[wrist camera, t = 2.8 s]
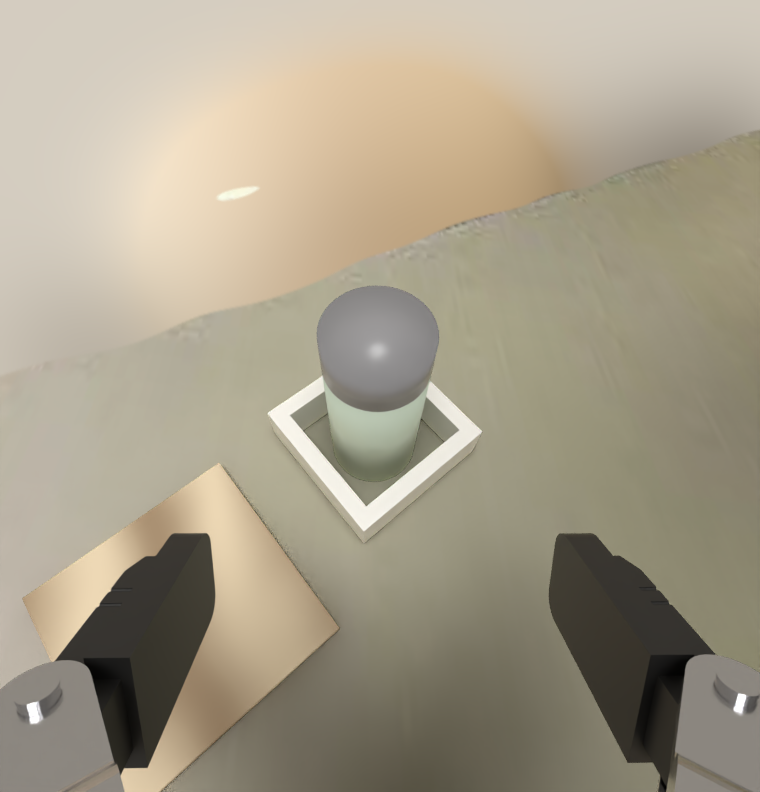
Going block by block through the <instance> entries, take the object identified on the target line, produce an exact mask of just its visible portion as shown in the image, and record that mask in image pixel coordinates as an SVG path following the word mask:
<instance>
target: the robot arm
mask: <svg viewBox="0 0 760 792" xmlns="http://www.w3.org/2000/svg"><path fill="white" fill-rule="evenodd" d="M549 603H550V609H551V613H552V616H553V619H554V621H555V623H556V625H557V627H558V629H559V631H560V632H561V634H562V636H563V638H564V640H565V642H566V644H567V646H568V648H569V650H570V652H571V654H572V656H573V658H574V660H575V661H576V663H577V665H578V667H579V669H580V671H581V673H582V675H583V677H584V679H585V681H586V683H587V685H588V687H589V689H590V690H591V692H592V694H593V696H594V698H595V700H596V702H597V704H598V706H599V708H600V710H601V712H602V714H603V716H604V718H605V720H606V721H607V723H608V725H609V727H610V729H611V731H612V733H613V735H614V737H615V739H616V741H617V743H618V745H619V747H620V749H621V750H622V752H623V754H624V756H625V758H626V760H627V762H628V763H645V762H653V763H654V765H655V767H656V769H657V770H658V772H659V774H660V777H659V781H658V785H657V790H656V792H760V673H759V672H757V671H756V670H754V669H752V668H750V667H749V666H747V665H745V664H743V663H740V662H738V661H736V660H733V659H730V658H727V657H723V656H718V655H715V653H714V652H713V651H712V650H711V649H710V648H709V647H708V645H707V644H706V643H705V642H704V641H703V640H702V639H701V638H700V636H699V635H698V634H697V633H696V632H695V631H694V630H693V628H692V627H691V626H690V625H689V624H688V623H687V622H686V620H685V619H684V618H683V617H682V616H681V615H680V614H679V612H678V611H677V610H676V609H675V608H674V607H673V606H672V605H669V601H668V600H667V599H666V598H665V597H664V595H663V594H662V593H661V592H660V591H659V590H656V586H655V585H654V584H653V583H652V582H651V581H650V580H649V578H648V577H647V576H646V575H645V574H644V573H643V572H642V570H640V569H639V568H637V567H636V566H634V565H633V564H631V563H630V562H628V561H627V560H625V559H624V558H622V557H621V556H613V555H612V554H611V553H610V552H609V551H608V549H607V548H606V547H605V546H604V544H603V543H602V542H601V541H600V540H599V538H598V537H597V536H596V535H594V534H592V533H582V534H559V535H558V536H557V538H556V542H555V549H554V556H553V564H552V571H551V579H550V586H549ZM214 606H215V581H214V571H213V560H212V550H211V541H210V537H209V535H208V534H207V533H173V534H172V535H170V537H169V538H168V539H167V541H166V542H165V544H164V545H163V546H162V548H161V549H160V551H159V552H158V553H157V555H156V556H145V557H144V558H142V559H141V560H139V561H138V562H137V563H135V564H134V565H132V566H131V567H129V568H128V569H127V570H125V571H124V572H123V574H122V575H121V576H120V578H119V579H118V580H117V581H116V583H115V584H114V585H113V587H112V588H111V592H108V593H107V594H106V596H105V597H104V598H103V599H102V601H101V602H100V605H99V607H96V608H95V610H94V611H93V612H92V614H91V615H90V616H89V617H88V619H87V620H86V621H85V623H84V624H83V625H82V626H81V628H80V629H79V630H78V632H77V633H76V634H75V636H74V637H73V638H72V639H71V641H70V642H69V643H68V645H67V646H66V647H65V648H64V650H63V651H62V652H61V654H60V655H59V656H58V657H57V659H56V660H55V661H54V662H50V663H46V664H43V665H40V666H37V667H35V668H33V669H30V670H28V671H26V672H24V673H23V674H21V675H19V676H17V677H16V678H14V679H13V680H11V681H10V682H9V683H7V684H6V685H5V686H4V687H2V688H1V689H0V792H125V791H124V787H123V783H122V780H121V774H122V772H123V770H124V768H148V766H149V764H150V761H151V759H152V757H153V754H154V752H155V750H156V747H157V745H158V743H159V740H160V738H161V736H162V733H163V731H164V729H165V726H166V724H167V722H168V720H169V717H170V715H171V713H172V710H173V708H174V706H175V703H176V701H177V699H178V696H179V694H180V692H181V689H182V687H183V685H184V682H185V680H186V678H187V675H188V673H189V671H190V668H191V666H192V664H193V661H194V659H195V657H196V654H197V652H198V650H199V648H200V645H201V643H202V641H203V638H204V636H205V634H206V631H207V629H208V627H209V624H210V622H211V619H212V616H213V612H214Z"/></svg>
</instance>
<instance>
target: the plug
mask: <svg viewBox="0 0 760 792" xmlns="http://www.w3.org/2000/svg"><path fill="white" fill-rule="evenodd" d="M317 343H318V349H319V356H320V363H321V369H322V376H323V383H324V390H325V396H326V403H327V410H328V416H329V423H330V430H331V437H332V443H333V450H334V454H335V457H336V459H337V461H338V463H339V464H340V466H341V467H342V468H343V469H344V470H345V471H346V472H347V473H349V474H350V475H352V476H353V477H355V478H358V479H360V480H364V481H370V482H377V481H383V480H387V479H390V478H392V477H394V476H396V475H397V474H399V473H400V472H401V471H402V470H403V469H404V468H405V467H406V466H407V465H408V463H409V461H410V460H411V457H412V454H413V451H414V446H415V442H416V438H417V433H418V429H419V425H420V421H421V416H422V412H423V408H424V403H425V399H426V395H427V391H428V386H429V382H430V378H431V373H432V369H433V365H434V361H435V356H436V352H437V348H438V343H439V330H438V325H437V322H436V320H435V318H434V316H433V314H432V312H431V311H430V310H429V308H428V307H427V306H426V305H425V304H424V303H423V302H422V301H420V300H419V299H418V298H416V297H415V296H413V295H412V294H410V293H408V292H405V291H403V290H400V289H397V288H393V287H387V286H367V287H361V288H357V289H354V290H351V291H349V292H346V293H344V294H342V295H341V296H339V297H338V298H336V299H335V300H334V301H333V302H332V303H330V304H329V306H328V307H327V308H326V309H325V311H324V312H323V314H322V315H321V318H320V320H319V323H318V327H317Z"/></svg>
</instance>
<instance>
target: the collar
mask: <svg viewBox="0 0 760 792" xmlns="http://www.w3.org/2000/svg"><path fill="white" fill-rule="evenodd" d="M327 413H328V410H327V403H326V396H325V390H324V383H323V376H322V377H320V378H319V379H317V380H316V381H314V382H313V383H311V384H310V385H308V386H307V387H305V388H304V389H302V390H301V391H299V392H298V393H296V394H295V395H293V396H292V397H291V398H289V399H288V400H286V401H285V402H283V403H282V404H280V405H279V406H277V407H276V408H274V409H273V410H271V411H270V412H268V413H267V414H268V417H269V419H270V422H271V424H272V427H273V429H274V432H275V434H276V435H277V437H278V438H279V439H280V440H281V442H282V443H283V444H284V445H285V447H286V448H287V449H288V450H289V451H290V453H291V454H292V455H293V456H294V458H295V459H296V460H297V461H298V463H299V464H300V465H301V466H302V468H303V469H304V470H305V471H306V473H307V474H308V475H309V476H310V477H311V479H312V480H313V481H314V482H315V484H316V485H317V486H318V487H319V489H320V490H321V491H322V492H323V494H324V495H325V496H326V497H327V499H328V500H329V501H330V502H331V503H332V505H333V506H334V507H335V508H336V510H337V511H338V512H339V513H340V515H341V516H342V517H343V518H344V520H345V521H346V522H347V523H348V525H349V526H350V527H351V528H352V529H353V531H354V532H355V533H356V534H357V536H358V537H359V538H360V539H361V541H362V542H363V543H365V542H366V541H368V540H369V539H370V538H371V537H372V536H373V535H375V534H376V533H377V532H378V531H379V530H380V529H382V528H383V527H384V526H385V525H386V524H387V523H389V522H390V521H391V520H392V519H393V518H395V517H396V516H397V515H398V514H399V513H400V512H402V511H403V510H404V509H405V508H406V507H407V506H409V505H410V504H411V503H412V502H413V501H414V500H416V499H417V498H418V497H419V496H420V495H422V494H423V493H424V492H425V491H426V490H427V489H429V488H430V487H431V486H432V485H433V484H434V483H436V482H437V481H438V480H439V479H440V478H442V477H443V476H444V475H445V474H446V473H447V472H449V471H450V470H451V469H452V468H453V467H454V466H456V465H457V464H458V463H459V462H460V461H461V460H463V459H464V458H465V457H466V456H467V455H469V454H470V453H471V452H472V451H473V449H474V447H475V445H476V443H477V441H478V440H479V438H480V436H481V434H482V431H481V430H480V429H479V428H478V427H477V426H476V425H475V424H474V423H473V422H472V421H471V420H470V419H469V418H468V417H467V416H466V415H465V414H464V413H463V412H462V411H460V410H459V409H458V408H457V407H456V406H455V405H454V404H453V403H452V402H451V401H450V400H449V399H448V398H447V397H446V396H445V395H444V394H443V393H442V392H441V391H440V390H439V389H438V388H437V387H436V386H435V385H434V384H433V383H432V382H431V381H430V382H429V386H428V391H427V395H426V399H425V403H424V408H423V412H422V416H421V419H422V420H423V421H424V422H425V423H426V424H427V425H428V426H429V427H430V428H431V429H432V430H433V431H434V432H435V433H436V434H437V435H438V436H439V437H440V438H441V439H442V440H443V441H444V443H443V444H442V445H441V446H439V447H438V448H437V449H436V450H435V451H433V452H432V453H431V454H430V455H428V456H427V457H426V458H425V459H424V460H422V461H421V462H420V463H419V464H417V465H416V466H415V467H414V468H413V469H411V470H410V471H409V472H408V473H406V474H405V475H404V476H403V477H402V478H400V479H399V480H398V481H397V482H395V483H394V484H393V485H392V486H391V487H389V488H388V489H387V490H386V491H384V492H383V493H382V494H381V495H380V496H378V497H377V498H376V499H375V500H374V501H372V502H371V503H370V504H369V505H367V506H365V504H364V503H363V502H362V501H361V500H360V498H359V497H358V496H357V495H356V494H355V492H354V491H353V490H352V489H351V488H350V486H349V485H348V484H347V483H346V482H345V481H344V479H343V478H342V477H341V476H340V475H339V473H338V472H337V471H336V470H335V469H334V467H333V466H332V465H331V464H330V463H329V461H328V460H327V459H326V458H325V457H324V456H323V454H322V453H321V452H320V451H319V450H318V448H317V447H316V446H315V445H314V444H313V442H312V441H311V440H310V439H309V438H308V436H307V435H306V434H305V433H304V432H303V430H305V429H306V428H308V427H309V426H310V425H312V424H313V423H315V422H316V421H318V420H319V419H320V418H322V417H323V416H325V415H326V414H327Z"/></svg>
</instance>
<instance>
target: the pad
mask: <svg viewBox="0 0 760 792" xmlns="http://www.w3.org/2000/svg"><path fill="white" fill-rule="evenodd" d="M173 533H207V534H208V535H209V537H210V541H211V550H212V560H213V571H214V581H215V606H214V612H213V616H212V619H211V622H210V624H209V627H208V629H207V631H206V634H205V636H204V638H203V641H202V643H201V645H200V648H199V650H198V652H197V654H196V657H195V659H194V661H193V664H192V666H191V668H190V671H189V673H188V675H187V678H186V680H185V682H184V685H183V687H182V689H181V692H180V694H179V696H178V699H177V701H176V703H175V706H174V708H173V710H172V713H171V715H170V717H169V720H168V722H167V724H166V726H165V729H164V731H163V733H162V736H161V738H160V740H159V743H158V745H157V747H156V750H155V752H154V754H153V757H152V759H151V761H150V764H149V766H148V768H124V770H123V772H122V774H121V780H122V783H123V787H124V791H125V792H161V791H162V790H163V789H164V788H165V787H166V786H167V785H168V784H170V783H171V782H172V781H173V780H174V779H175V778H176V777H177V776H178V775H179V774H181V773H182V772H183V771H184V770H185V769H186V768H187V767H188V766H189V765H190V764H192V763H193V762H194V761H195V760H196V759H197V758H198V757H199V756H200V755H201V754H203V753H204V752H205V751H206V750H207V749H208V748H209V747H210V746H211V745H212V744H214V743H215V742H216V741H217V740H218V739H219V738H220V737H221V736H222V735H223V734H225V733H226V732H227V731H228V730H229V729H230V728H231V727H232V726H233V725H234V724H236V723H237V722H238V721H239V720H240V719H241V718H242V717H243V716H244V715H246V714H247V713H248V712H249V711H250V710H251V709H252V708H253V707H254V706H255V705H257V704H258V703H259V702H260V701H261V700H262V699H263V698H264V697H265V696H266V695H268V694H269V693H270V692H271V691H272V690H273V689H274V688H275V687H276V686H277V685H279V684H280V683H281V682H282V681H283V680H284V679H285V678H286V677H287V676H288V675H290V674H291V673H292V672H293V671H294V670H295V669H296V668H297V667H298V666H299V665H301V664H302V663H303V662H304V661H305V660H306V659H307V658H308V657H309V656H310V655H312V654H313V653H314V652H315V651H316V650H317V649H318V648H319V647H320V646H321V645H323V644H324V643H325V642H326V641H327V640H328V639H329V638H330V637H331V636H333V635H334V634H335V633H336V632H337V631H338V630H339V629H340V628H339V627H338V625H337V624H336V623H335V621H334V620H333V619H332V617H331V616H330V614H329V613H328V612H327V610H326V609H325V608H324V606H323V605H322V603H321V602H320V601H319V599H318V598H317V597H316V595H315V594H314V592H313V591H312V590H311V588H310V587H309V586H308V584H307V583H306V581H305V580H304V579H303V577H302V576H301V575H300V573H299V572H298V570H297V569H296V568H295V566H294V565H293V564H292V562H291V561H290V559H289V558H288V557H287V555H286V554H285V553H284V551H283V550H282V548H281V547H280V546H279V544H278V543H277V542H276V540H275V539H274V537H273V536H272V535H271V533H270V532H269V531H268V529H267V528H266V526H265V525H264V524H263V522H262V521H261V520H260V518H259V517H258V515H257V514H256V513H255V511H254V510H253V509H252V507H251V506H250V504H249V503H248V502H247V500H246V499H245V498H244V496H243V495H242V493H241V492H240V491H239V489H238V488H237V487H236V485H235V484H234V482H233V481H232V480H231V478H230V477H229V476H228V474H227V473H226V471H225V470H224V469H223V467H222V466H221V465H220V463H218V464H217V465H215V466H214V467H212V468H211V469H209V470H208V471H206V472H205V473H204V474H202V475H201V476H199V477H198V478H196V479H195V480H193V481H192V482H190V483H189V484H188V485H186V486H185V487H183V488H182V489H180V490H179V491H177V492H176V493H174V494H173V495H172V496H170V497H169V498H167V499H166V500H164V501H163V502H161V503H160V504H159V505H157V506H156V507H154V508H153V509H151V510H150V511H148V512H147V513H145V514H144V515H143V516H141V517H140V518H138V519H137V520H135V521H134V522H132V523H131V524H129V525H128V526H127V527H125V528H124V529H122V530H121V531H119V532H118V533H116V534H115V535H114V536H112V537H111V538H109V539H108V540H106V541H105V542H103V543H102V544H100V545H99V546H98V547H96V548H95V549H93V550H92V551H90V552H89V553H87V554H86V555H84V556H83V557H82V558H80V559H79V560H77V561H76V562H74V563H73V564H71V565H70V566H69V567H67V568H66V569H64V570H63V571H61V572H60V573H58V574H57V575H55V576H54V577H53V578H51V579H50V580H48V581H47V582H45V583H44V584H42V585H41V586H39V587H38V588H37V589H35V590H34V591H32V592H31V593H29V594H28V595H26V596H25V597H24V598H22V599H23V602H24V604H25V606H26V608H27V610H28V612H29V614H30V617H31V619H32V621H33V623H34V625H35V627H36V630H37V632H38V634H39V636H40V638H41V640H42V643H43V645H44V647H45V649H46V651H47V653H48V656H49V658H50V660H51V662H54V661H55V660H56V659H57V657H58V656H59V655H60V654H61V652H62V651H63V650H64V648H65V647H66V646H67V645H68V643H69V642H70V641H71V639H72V638H73V637H74V636H75V634H76V633H77V632H78V630H79V629H80V628H81V626H82V625H83V624H84V623H85V621H86V620H87V619H88V617H89V616H90V615H91V614H92V612H93V611H94V610H95V608H96V607H99V605H100V602H101V601H102V599H103V598H104V597H105V596H106V594H107V593H108V592H111V588H112V587H113V585H114V584H115V583H116V581H117V580H118V579H119V578H120V576H121V575H122V574H123V572H124V571H125V570H127V569H128V568H129V567H131V566H132V565H134V564H135V563H137V562H138V561H139V560H141V559H142V558H144V557H145V556H156V555H157V553H158V552H159V551H160V549H161V548H162V546H163V545H164V544H165V542H166V541H167V539H168V538H169V537H170V535H172V534H173Z"/></svg>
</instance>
